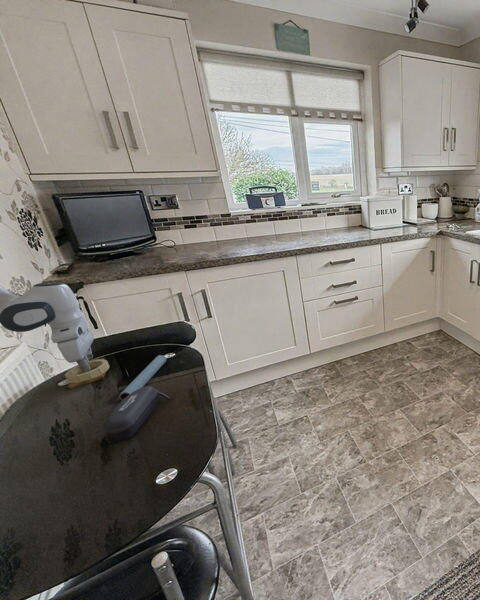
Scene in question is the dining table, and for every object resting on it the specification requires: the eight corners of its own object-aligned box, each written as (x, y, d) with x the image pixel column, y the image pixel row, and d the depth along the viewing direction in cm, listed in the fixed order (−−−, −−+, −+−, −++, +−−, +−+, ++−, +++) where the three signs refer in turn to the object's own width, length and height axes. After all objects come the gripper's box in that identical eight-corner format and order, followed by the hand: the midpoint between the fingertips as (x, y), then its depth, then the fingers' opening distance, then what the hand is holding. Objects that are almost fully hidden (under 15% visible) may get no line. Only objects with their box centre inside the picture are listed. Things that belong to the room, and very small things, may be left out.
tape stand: (69, 389, 108) (50, 354, 103) (76, 377, 115) (59, 343, 110) (104, 379, 112) (87, 345, 107) (109, 368, 119) (93, 335, 114)
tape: (64, 386, 107) (60, 380, 106) (73, 372, 116) (70, 366, 115) (106, 374, 112) (103, 368, 111) (111, 361, 121) (109, 356, 120)
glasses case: (131, 402, 96) (132, 380, 94) (171, 406, 100) (174, 384, 98) (91, 448, 80) (92, 421, 78) (142, 450, 83) (143, 425, 81)
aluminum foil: (133, 400, 99) (129, 391, 98) (109, 405, 98) (104, 395, 97) (168, 362, 120) (164, 354, 119) (148, 365, 119) (144, 357, 118)
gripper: (67, 320, 118) (84, 353, 123) (49, 340, 102) (69, 378, 107) (89, 315, 121) (105, 347, 126) (75, 334, 105) (94, 370, 110)
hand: (88, 361), depth 116 cm, fingers open, 3 cm apart
